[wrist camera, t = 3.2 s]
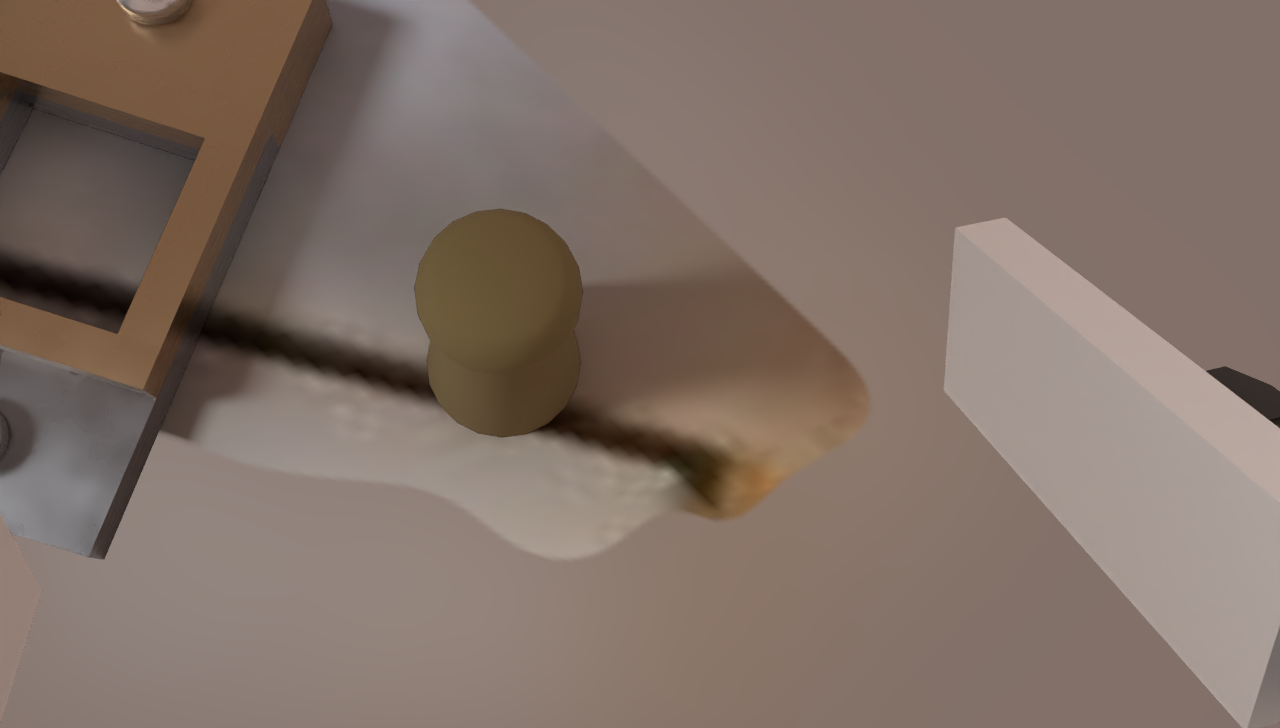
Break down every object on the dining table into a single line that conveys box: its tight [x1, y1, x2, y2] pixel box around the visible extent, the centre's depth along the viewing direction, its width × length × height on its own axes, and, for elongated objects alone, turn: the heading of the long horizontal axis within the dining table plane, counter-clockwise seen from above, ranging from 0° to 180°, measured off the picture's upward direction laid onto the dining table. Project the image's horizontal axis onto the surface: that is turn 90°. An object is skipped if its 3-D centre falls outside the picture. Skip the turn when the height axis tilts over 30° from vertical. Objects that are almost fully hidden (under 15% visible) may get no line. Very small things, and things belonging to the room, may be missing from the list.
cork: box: [414, 209, 583, 437], centre depth 38 cm, size 6×6×11 cm
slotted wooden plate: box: [0, 0, 333, 559], centre depth 41 cm, size 23×11×4 cm, turn 163°
